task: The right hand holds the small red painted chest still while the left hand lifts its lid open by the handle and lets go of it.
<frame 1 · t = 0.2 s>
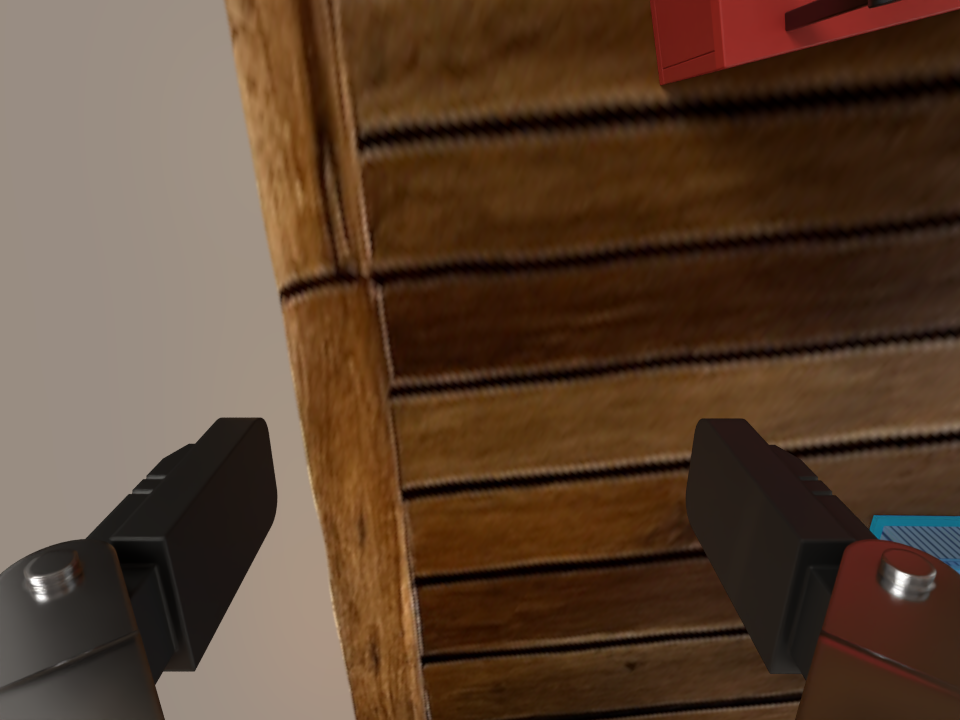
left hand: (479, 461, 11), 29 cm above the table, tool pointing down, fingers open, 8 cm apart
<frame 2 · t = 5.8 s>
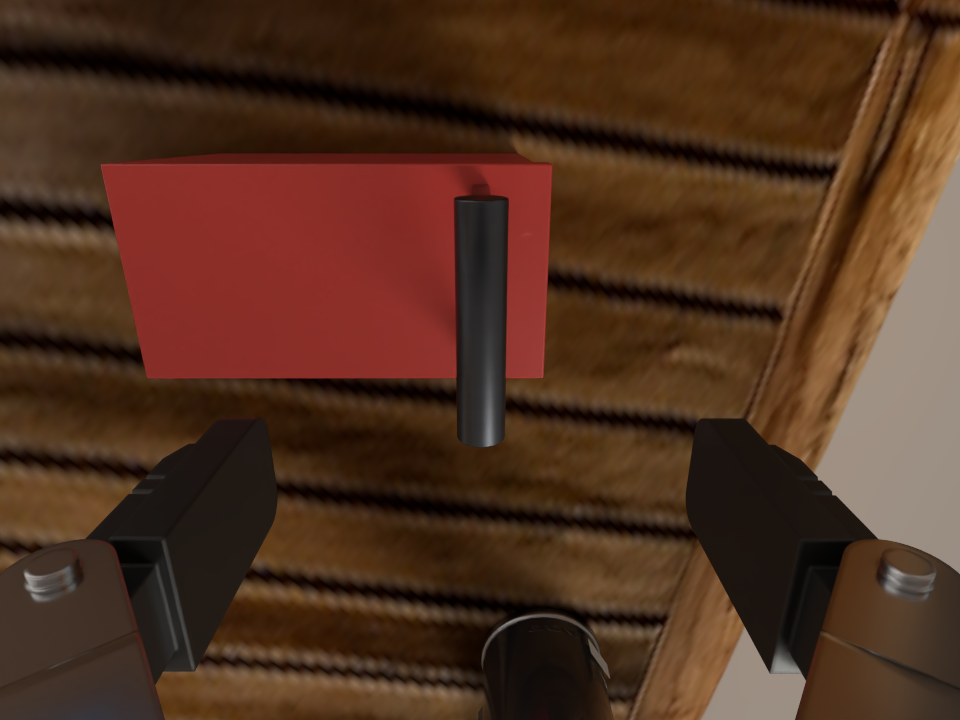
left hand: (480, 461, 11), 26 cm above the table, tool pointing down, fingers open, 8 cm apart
chest: (374, 233, 36), on the table
lid: (317, 298, 22), point 15 cm above the table, hinge at 0.0°
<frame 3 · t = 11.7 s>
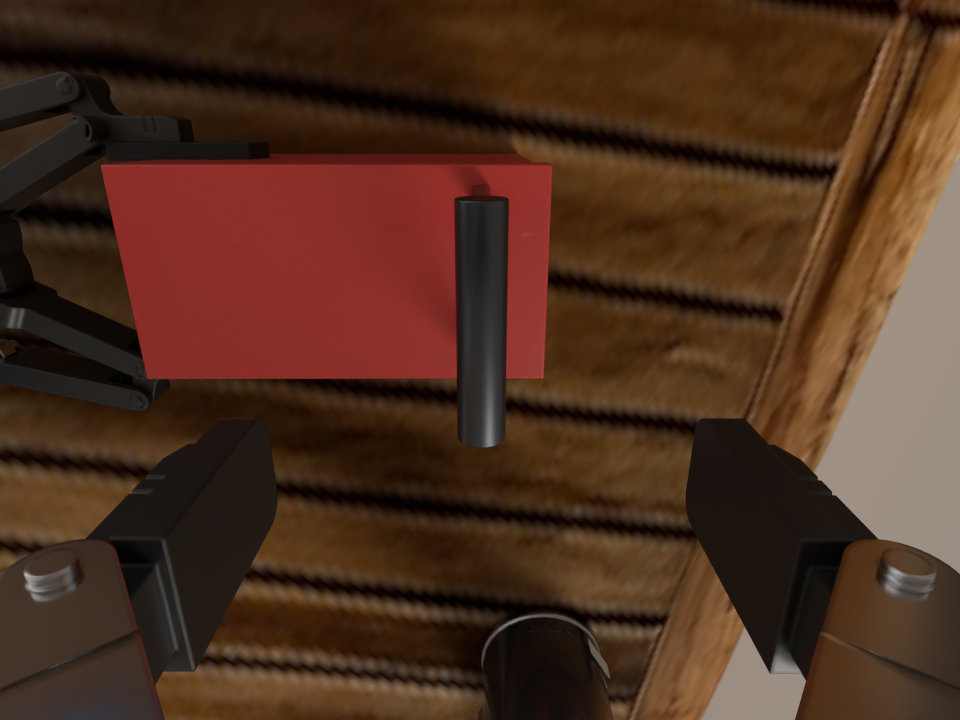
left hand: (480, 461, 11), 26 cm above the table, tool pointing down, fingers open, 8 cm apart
right hand: (272, 253, 30), fingers closed on chest, 9 cm apart
chest: (374, 233, 36), on the table, touching right hand
lid: (317, 298, 22), point 15 cm above the table, hinge at 0.0°
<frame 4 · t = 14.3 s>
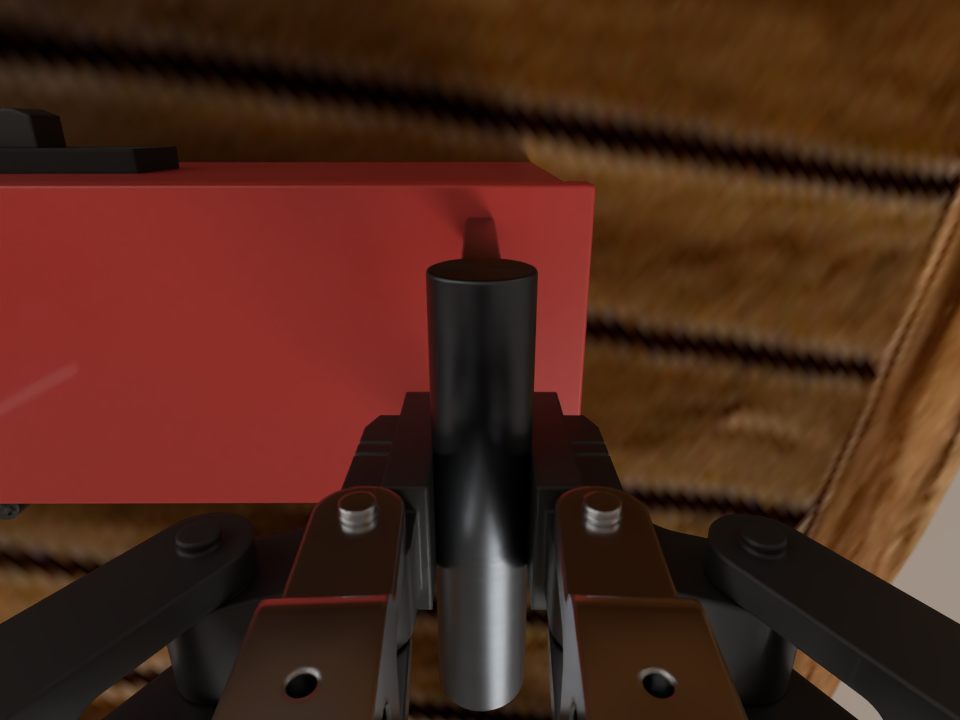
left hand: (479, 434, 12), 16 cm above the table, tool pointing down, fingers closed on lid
chest: (339, 267, 27), on the table, touching right hand
lid: (206, 412, 13), point 15 cm above the table, hinge at -0.1°, touching left hand
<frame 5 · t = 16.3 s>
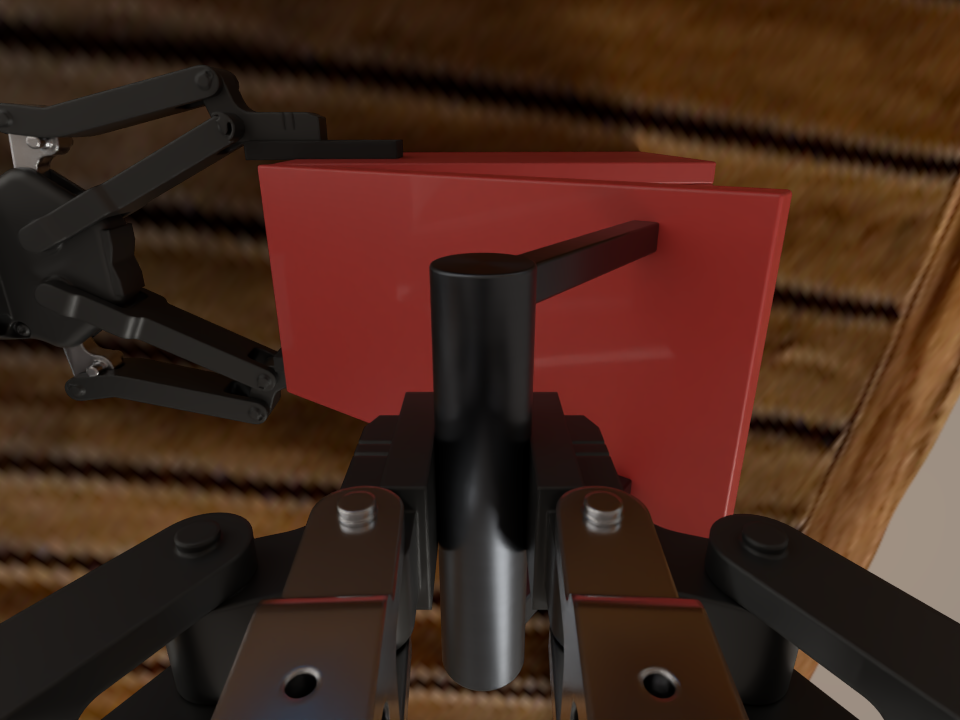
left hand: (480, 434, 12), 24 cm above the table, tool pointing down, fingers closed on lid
right hand: (405, 257, 29), fingers closed on chest, 9 cm apart
chest: (486, 235, 34), on the table, touching right hand
lid: (375, 357, 16), point 20 cm above the table, hinge at 37.6°, touching left hand
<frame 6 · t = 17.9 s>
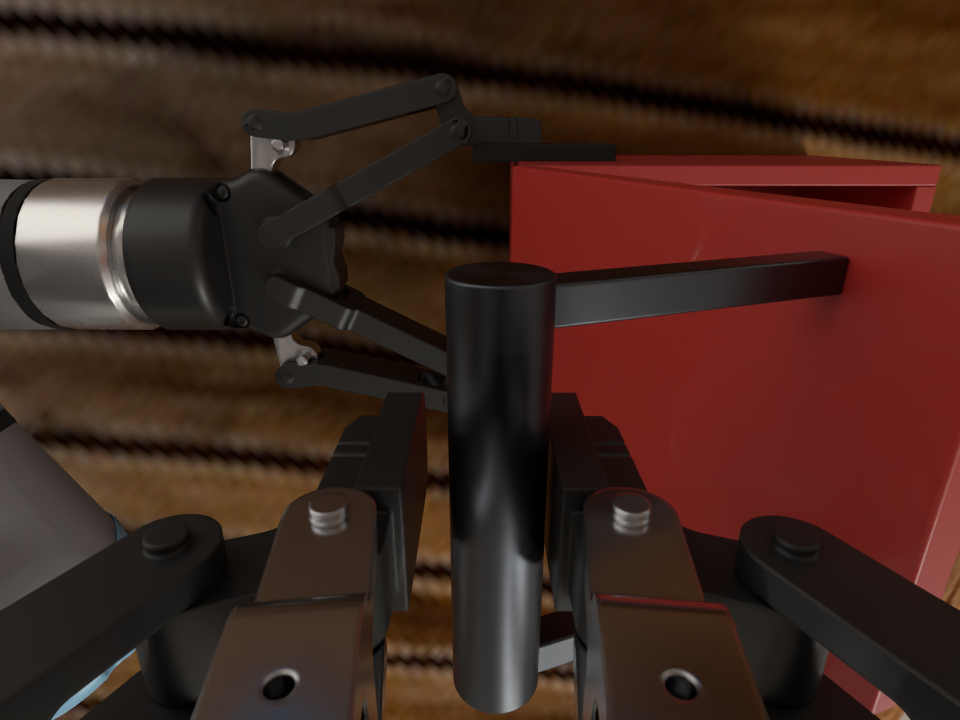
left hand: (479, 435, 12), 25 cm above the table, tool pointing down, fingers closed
right hand: (602, 255, 30), fingers closed on chest, 9 cm apart
chest: (651, 235, 36), on the table, touching right hand
lid: (529, 358, 16), point 21 cm above the table, hinge at 69.7°
when the right hand's fingers open (6 cm above the table, at t = 22.1 s): chest stays where it is, on the table.
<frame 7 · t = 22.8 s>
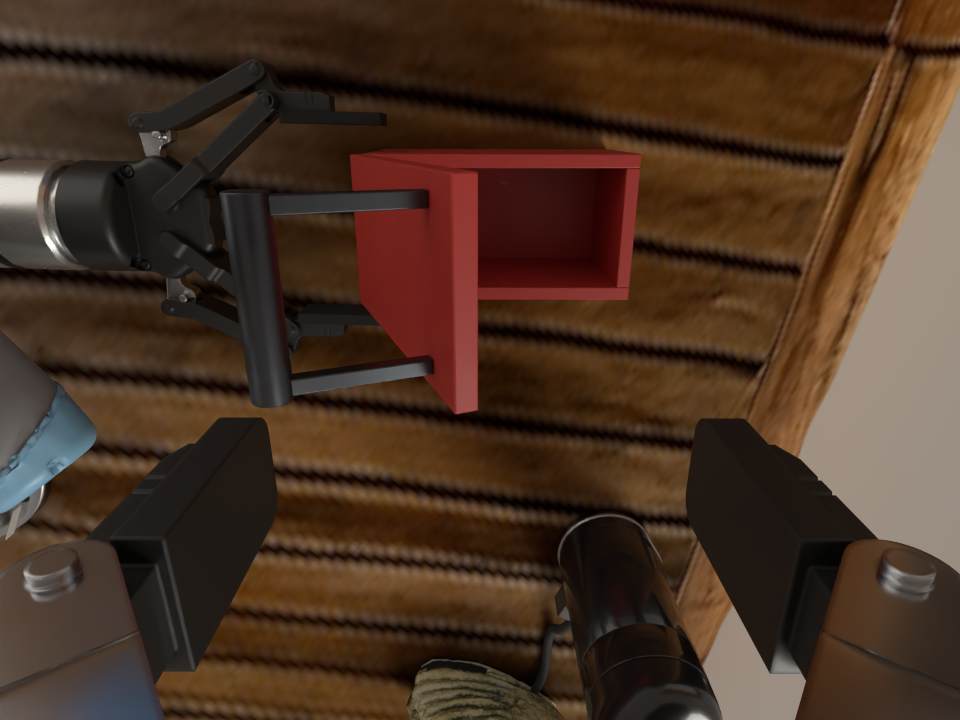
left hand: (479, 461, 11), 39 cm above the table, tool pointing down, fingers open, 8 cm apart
right hand: (387, 223, 42), fingers open, 13 cm apart
chest: (495, 209, 48), on the table
lid: (326, 263, 28), point 21 cm above the table, hinge at 67.6°
fossil: (492, 692, 67), on the table
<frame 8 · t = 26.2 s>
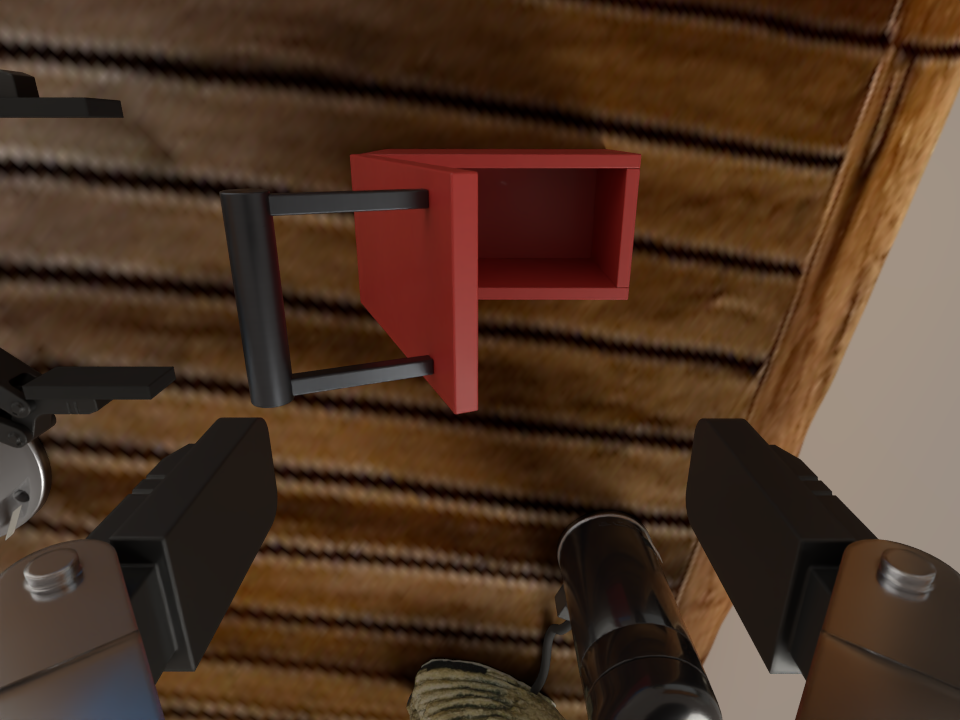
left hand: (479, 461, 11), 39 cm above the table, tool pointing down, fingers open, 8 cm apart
chest: (495, 209, 48), on the table
lid: (326, 263, 28), point 21 cm above the table, hinge at 67.6°
fossil: (492, 692, 67), on the table
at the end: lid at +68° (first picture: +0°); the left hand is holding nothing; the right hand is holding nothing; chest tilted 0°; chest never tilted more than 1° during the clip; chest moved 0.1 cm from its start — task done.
